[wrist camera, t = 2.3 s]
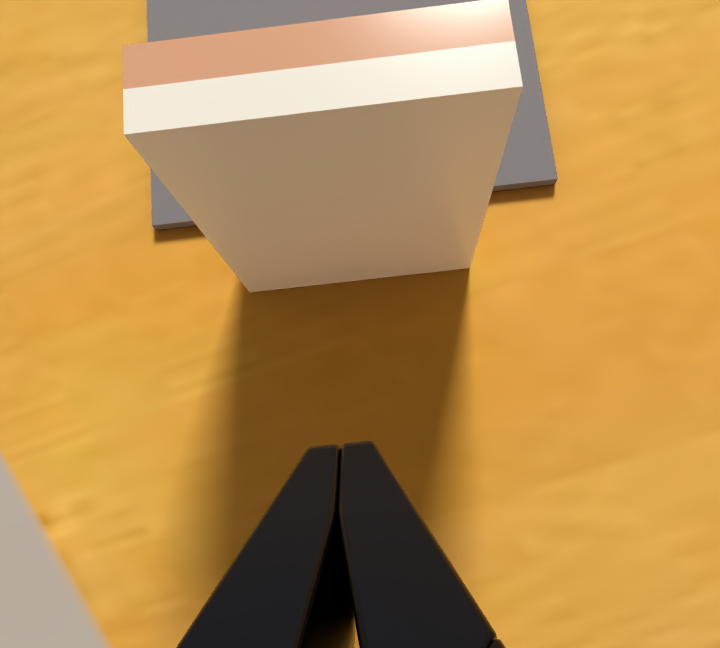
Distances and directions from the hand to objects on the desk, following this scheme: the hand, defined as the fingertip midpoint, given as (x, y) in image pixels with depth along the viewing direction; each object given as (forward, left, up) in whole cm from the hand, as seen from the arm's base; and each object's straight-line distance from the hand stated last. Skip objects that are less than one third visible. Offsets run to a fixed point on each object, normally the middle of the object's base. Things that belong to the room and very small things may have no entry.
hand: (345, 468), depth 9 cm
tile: (+7, +1, -12) cm, 14 cm away
